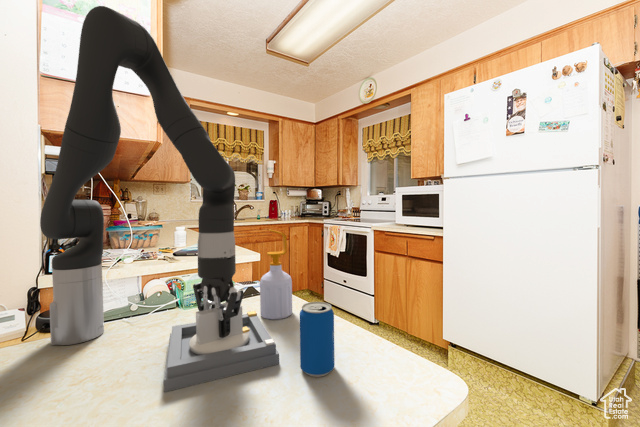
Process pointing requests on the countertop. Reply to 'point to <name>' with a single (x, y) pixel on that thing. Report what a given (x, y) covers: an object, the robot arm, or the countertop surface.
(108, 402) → the countertop surface
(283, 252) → the soap bottle
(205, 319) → the dial knob
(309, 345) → the beverage can
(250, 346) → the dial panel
